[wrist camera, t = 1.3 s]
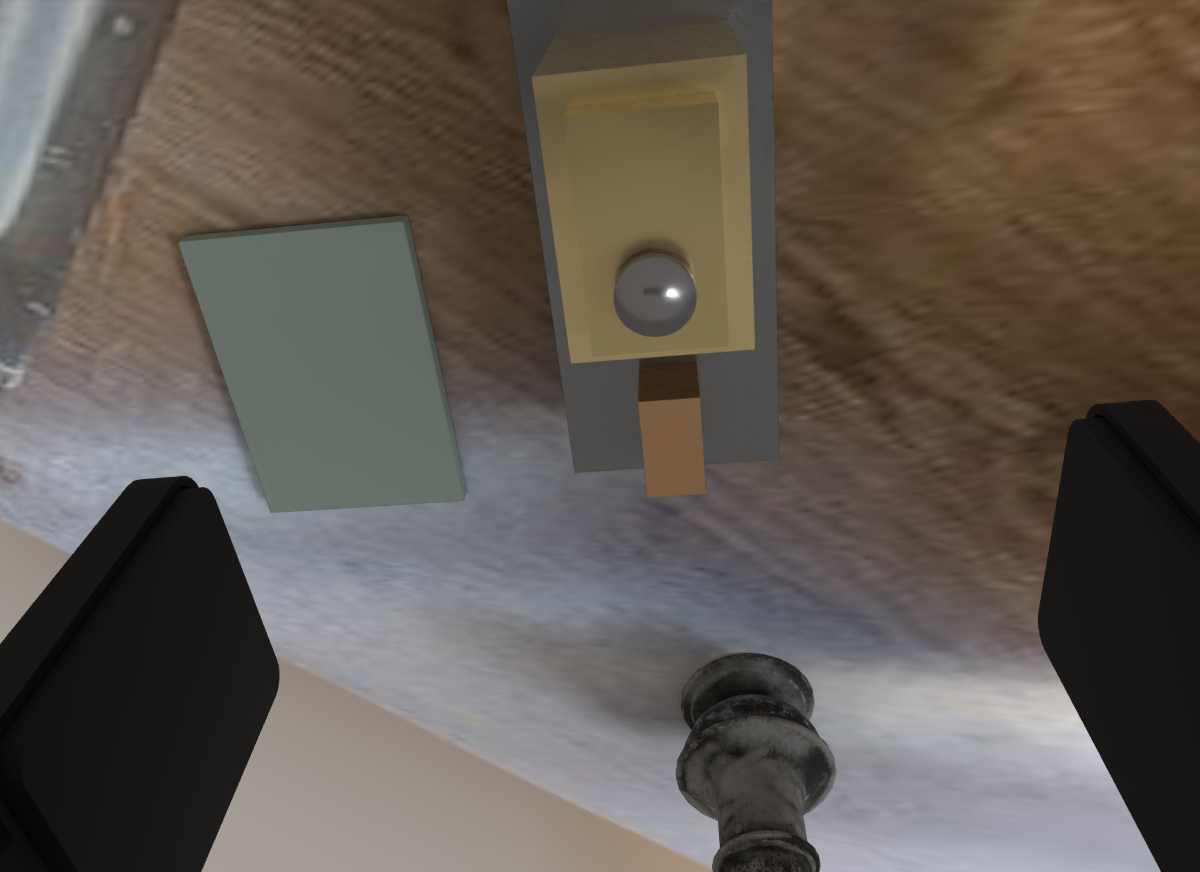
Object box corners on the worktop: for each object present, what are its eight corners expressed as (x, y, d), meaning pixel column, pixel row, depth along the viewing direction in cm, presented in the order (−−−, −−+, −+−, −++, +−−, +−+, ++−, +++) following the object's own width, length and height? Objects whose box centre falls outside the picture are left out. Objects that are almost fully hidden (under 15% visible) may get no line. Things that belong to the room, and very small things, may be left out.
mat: (407, 214, 29) (403, 221, 28) (466, 490, 34) (464, 500, 33) (185, 235, 29) (177, 242, 29) (276, 503, 34) (270, 512, 34)
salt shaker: (643, 705, 39) (640, 1008, 28) (746, 623, 36) (783, 922, 26) (747, 773, 40) (781, 1082, 30) (852, 699, 38) (927, 1008, 28)
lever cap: (728, 18, 22) (754, 69, 16) (737, 266, 25) (762, 383, 19) (554, 37, 22) (521, 93, 17) (584, 279, 25) (565, 397, 20)
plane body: (749, -288, 22) (781, -342, 17) (765, 394, 31) (789, 508, 26) (495, -253, 23) (444, -293, 17) (583, 407, 32) (568, 522, 26)
